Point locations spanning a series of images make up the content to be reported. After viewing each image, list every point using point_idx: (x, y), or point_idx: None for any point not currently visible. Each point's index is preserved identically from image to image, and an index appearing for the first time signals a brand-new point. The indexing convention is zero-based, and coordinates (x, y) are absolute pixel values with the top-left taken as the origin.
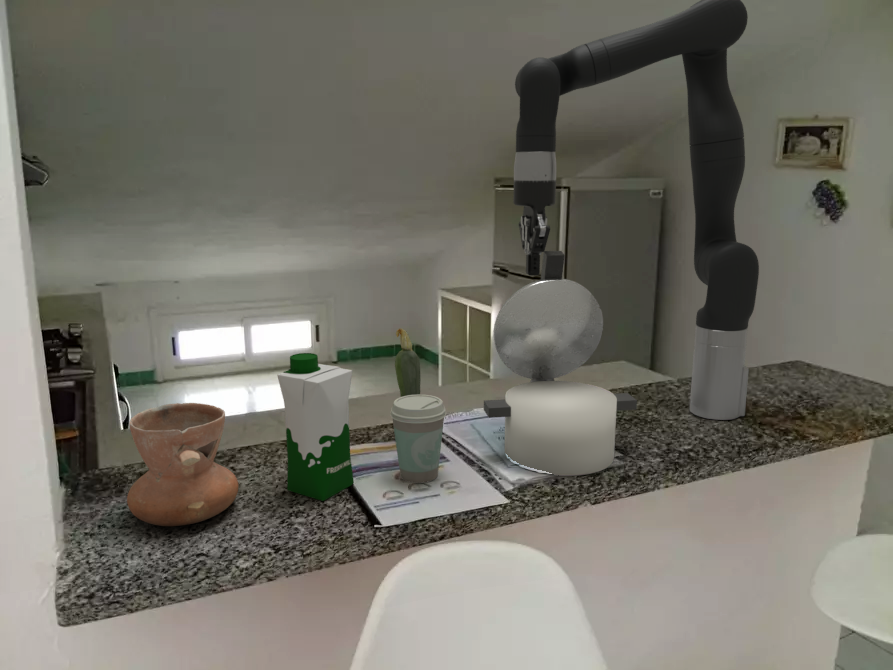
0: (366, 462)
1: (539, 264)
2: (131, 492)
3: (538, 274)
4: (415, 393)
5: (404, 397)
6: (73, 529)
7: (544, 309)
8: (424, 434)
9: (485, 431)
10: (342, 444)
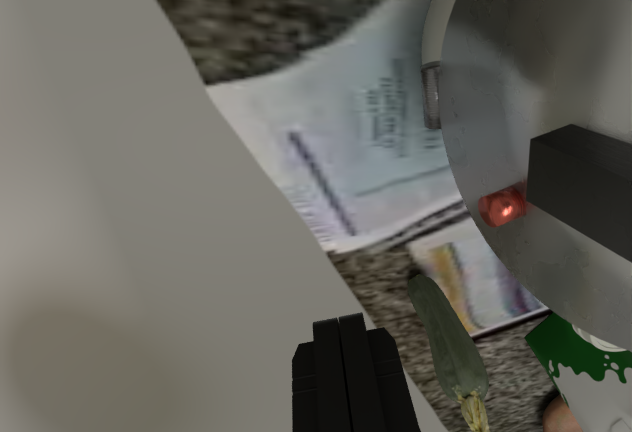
0: (499, 303)
1: (371, 365)
2: None
3: (360, 313)
4: (459, 320)
5: (599, 342)
6: None
7: None
8: None
9: (395, 170)
10: (630, 356)
